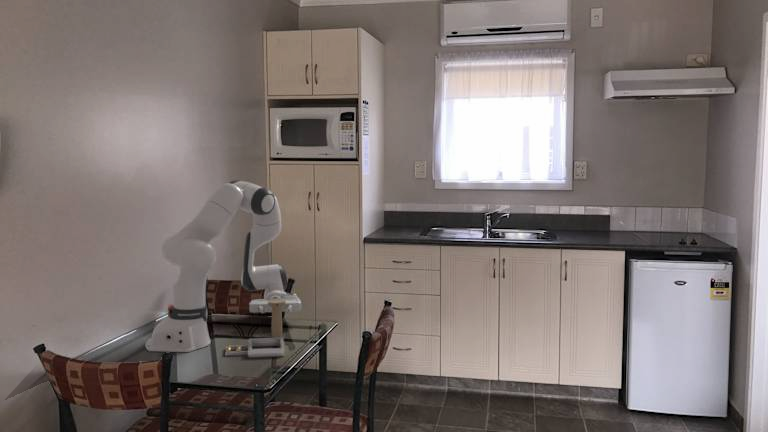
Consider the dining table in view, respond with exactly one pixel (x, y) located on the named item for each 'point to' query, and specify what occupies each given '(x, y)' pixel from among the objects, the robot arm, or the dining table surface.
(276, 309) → the handle
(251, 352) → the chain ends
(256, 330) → the dining table surface
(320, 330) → the dining table surface
